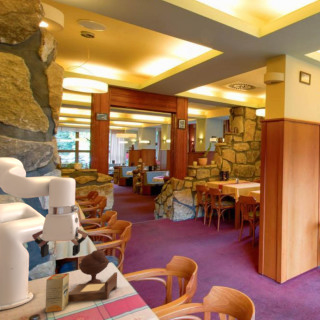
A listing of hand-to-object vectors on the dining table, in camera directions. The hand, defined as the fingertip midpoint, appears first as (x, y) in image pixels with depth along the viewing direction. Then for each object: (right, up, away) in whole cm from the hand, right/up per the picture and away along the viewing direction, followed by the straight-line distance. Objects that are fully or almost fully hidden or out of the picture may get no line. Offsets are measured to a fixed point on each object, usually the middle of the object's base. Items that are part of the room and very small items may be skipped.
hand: (60, 255), depth 108 cm
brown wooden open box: (+4, -20, +11) cm, 23 cm away
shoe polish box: (-1, -20, 0) cm, 20 cm away
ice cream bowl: (-4, -20, +21) cm, 29 cm away
